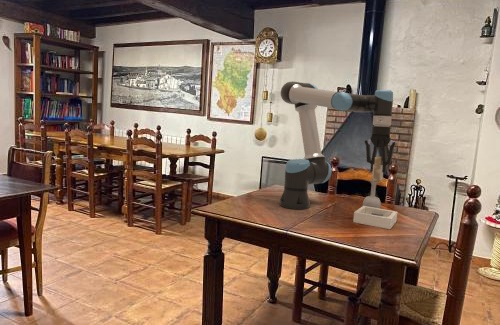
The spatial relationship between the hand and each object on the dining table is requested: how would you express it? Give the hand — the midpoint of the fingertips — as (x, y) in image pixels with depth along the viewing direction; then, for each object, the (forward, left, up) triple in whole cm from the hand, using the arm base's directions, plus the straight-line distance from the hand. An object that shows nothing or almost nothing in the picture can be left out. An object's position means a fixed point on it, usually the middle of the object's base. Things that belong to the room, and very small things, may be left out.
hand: (377, 179), depth 164 cm
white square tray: (+1, +1, -19) cm, 19 cm away
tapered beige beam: (0, 0, -1) cm, 1 cm away
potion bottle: (-5, +20, -20) cm, 28 cm away
